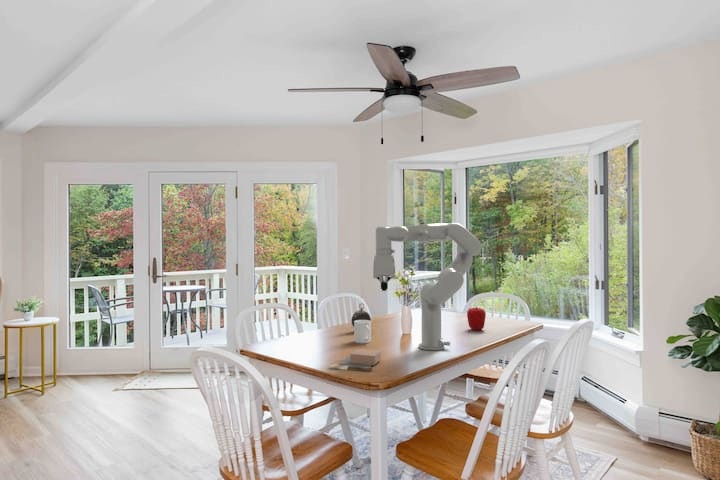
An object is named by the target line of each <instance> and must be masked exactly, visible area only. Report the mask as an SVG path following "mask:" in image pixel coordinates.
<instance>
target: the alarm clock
mask: <svg viewBox="0 0 720 480" xmlns="http://www.w3.org/2000/svg"><path fill="white" fill-rule="evenodd" d="M361 305H363V307H361ZM358 308H359V309H360V310H356V311H355V312H354V313H353V315H352V316H351V325H352V327H353V328H354V321H356V320H369V321H371V322H372V319H371V316H370V313H369V312H367V311H365V310H364V308H365V305H364V303H360V304H359V307H358Z"/></svg>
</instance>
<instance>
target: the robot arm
mask: <svg viewBox="0 0 720 480" xmlns="http://www.w3.org/2000/svg"><path fill="white" fill-rule="evenodd" d="M413 241H414V242H442V241H446V242H447V241H453V242H455V243H456V257H455V258H454V259H453V261H452V262H451V263H450V264H448V265H447V266H446V267H445V268H444V269H443V270H442V271H441V272H440V273H439V274H438V275H437V283H433V282H427V283H426V284H424V285H423V286H422V287H421V288H420V293H419V294H420V305H421V306H420V307H421V343H419V344H418V348H419V349H421V350H424V351H441V350H444V349H445V348H446V347H445V346H449V347H451V341H448V340H444V338H443V337H442V305H443V304H445V303H446V302H447V301H449V300H450V299H451V298H452V297H453V296H454V295H455V294H456V293H457V292H458V291H459V290H460V289H461V287H463V284H464V275H465V274H466V273H468V271H469V270H470V268H471V266H472V264H473V257H474V256H477V255H478V254H480V253H481V251H482V248H483V247H482V243H481V242H480V240H479V239H478V238H477V237H476V236H475V235H474V234H473V233H471V232H470V231H469V230H468V229H467V228H466V227H465V226H463V225H462V224H460V223H458V222H447V223H446V222H445V223H444V222H442V223H425V224H424V223H423V224H418V225H406V226H405V225H403V226H401V225H398V226H396V225H395V226H378V227H376V228H375V255H374V259H373V265H372V267H373V268H372V272H373V273H372V274H373V275H372V277H373V279H376V280H378V281H379V282H380V289H381V291H383V292H386V291H387V290H388V289H389V287H388V286H389V283H388V282H389V281H390V280H393V279H395V278H396V265H395V258H394V255H393V254H394V253H395V252H396V251H395V250H394V249H393V248H392V242H395V243H398V242H399V243H400V242H401V243H402V242H413Z"/></svg>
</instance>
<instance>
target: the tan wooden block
mask: <svg viewBox="0 0 720 480" xmlns="http://www.w3.org/2000/svg"><path fill="white" fill-rule="evenodd" d="M349 356H350V362H351V363H356V364H367V365H373V366H375V365H376V364H378V363H379V362H380V361H381V360H382V351H381V350H374V349H361V348H357V349H355V350H354V351H353V352H351V353H350V354H349Z"/></svg>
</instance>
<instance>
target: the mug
mask: <svg viewBox="0 0 720 480" xmlns="http://www.w3.org/2000/svg"><path fill="white" fill-rule="evenodd" d="M371 325H372V320H371V321H369V320H356V321H354V327H353V333H354V336H353V338H354V343H356V344H364V345H365V344H369V343H370V342H372V341H371V340H372V326H371Z"/></svg>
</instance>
